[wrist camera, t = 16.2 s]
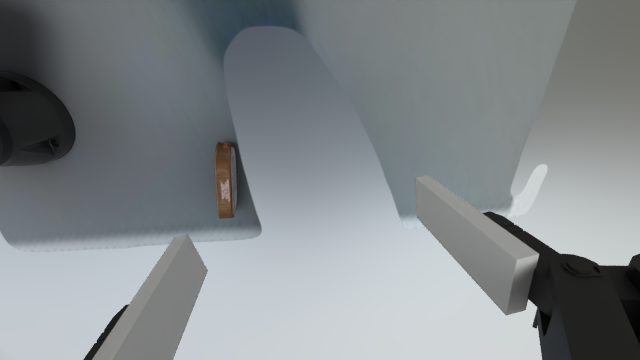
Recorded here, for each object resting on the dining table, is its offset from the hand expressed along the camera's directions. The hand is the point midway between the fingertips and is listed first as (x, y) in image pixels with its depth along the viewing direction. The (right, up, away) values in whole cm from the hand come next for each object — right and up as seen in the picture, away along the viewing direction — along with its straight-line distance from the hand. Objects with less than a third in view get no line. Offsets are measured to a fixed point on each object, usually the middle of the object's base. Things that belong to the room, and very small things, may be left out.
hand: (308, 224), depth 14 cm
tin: (-18, +4, +36) cm, 40 cm away
